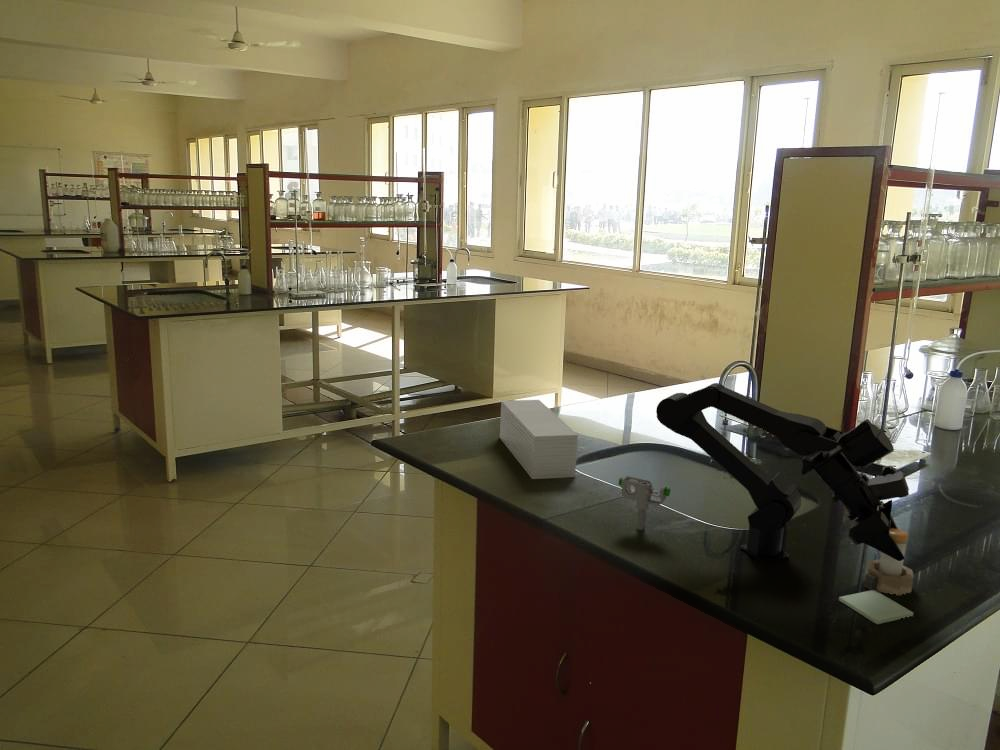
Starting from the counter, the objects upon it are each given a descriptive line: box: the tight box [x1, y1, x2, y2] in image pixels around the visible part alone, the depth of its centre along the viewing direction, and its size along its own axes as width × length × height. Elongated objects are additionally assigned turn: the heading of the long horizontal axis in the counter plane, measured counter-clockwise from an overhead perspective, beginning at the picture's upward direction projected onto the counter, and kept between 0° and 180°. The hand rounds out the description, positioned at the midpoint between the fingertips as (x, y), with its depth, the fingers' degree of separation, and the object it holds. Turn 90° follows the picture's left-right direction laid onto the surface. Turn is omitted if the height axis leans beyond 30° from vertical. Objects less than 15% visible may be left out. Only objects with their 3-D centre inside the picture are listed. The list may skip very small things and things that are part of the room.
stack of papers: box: [499, 399, 579, 480], centre depth 198 cm, size 32×11×11 cm, turn 14°
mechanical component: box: [618, 475, 671, 531], centre depth 156 cm, size 3×10×10 cm, turn 61°
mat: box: [838, 590, 914, 625], centre depth 130 cm, size 8×8×1 cm
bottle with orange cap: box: [879, 528, 909, 577], centre depth 137 cm, size 4×4×10 cm
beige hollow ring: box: [863, 558, 915, 596], centre depth 138 cm, size 8×7×3 cm
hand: (902, 552), depth 136 cm, fingers open, 6 cm apart
